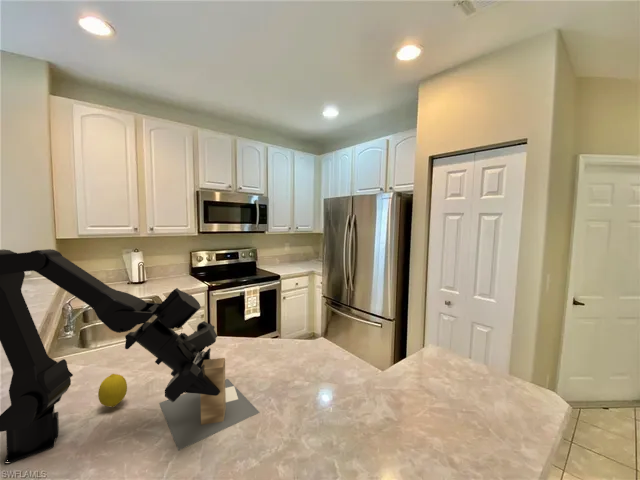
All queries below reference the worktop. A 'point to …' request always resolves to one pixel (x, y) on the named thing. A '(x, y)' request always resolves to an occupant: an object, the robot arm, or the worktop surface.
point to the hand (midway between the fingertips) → (220, 387)
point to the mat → (187, 415)
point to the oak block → (213, 404)
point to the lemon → (112, 390)
